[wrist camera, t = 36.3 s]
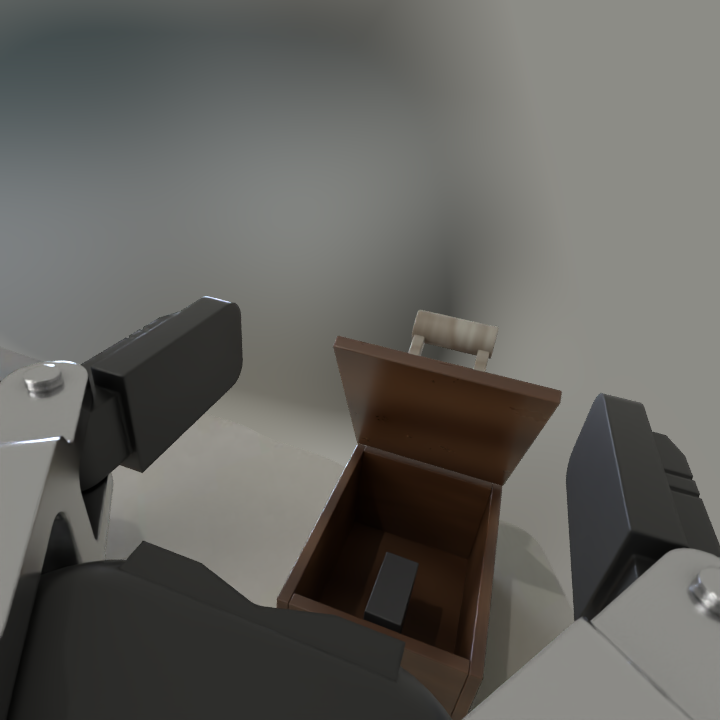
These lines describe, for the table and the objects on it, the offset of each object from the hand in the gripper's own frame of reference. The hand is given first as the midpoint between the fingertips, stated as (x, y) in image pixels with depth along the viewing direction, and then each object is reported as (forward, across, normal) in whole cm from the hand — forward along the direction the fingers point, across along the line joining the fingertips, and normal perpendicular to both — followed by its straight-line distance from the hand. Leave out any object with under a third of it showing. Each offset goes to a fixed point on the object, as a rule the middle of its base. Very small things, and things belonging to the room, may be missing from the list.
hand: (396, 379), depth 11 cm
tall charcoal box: (+11, 0, +31) cm, 33 cm away
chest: (+15, 0, +32) cm, 35 cm away
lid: (+18, 0, +15) cm, 23 cm away
